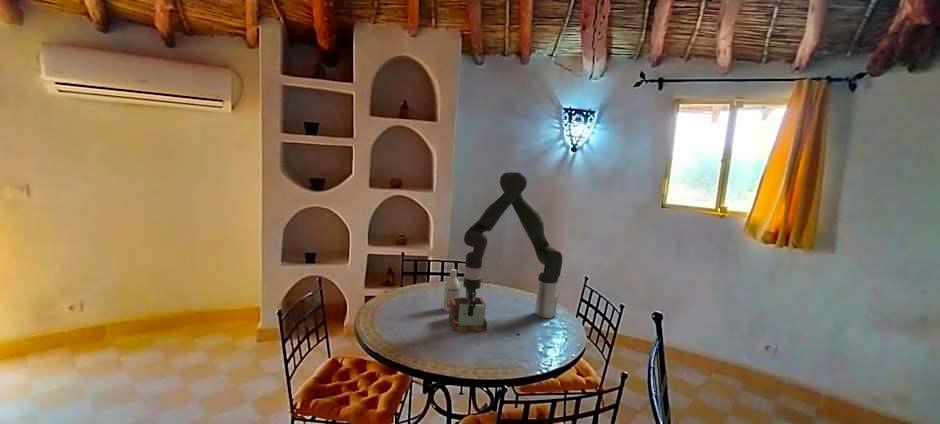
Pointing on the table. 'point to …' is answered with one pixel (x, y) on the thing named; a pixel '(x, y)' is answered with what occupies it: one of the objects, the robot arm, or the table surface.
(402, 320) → the table surface
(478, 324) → the block
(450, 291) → the bath foam
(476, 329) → the cabinet
